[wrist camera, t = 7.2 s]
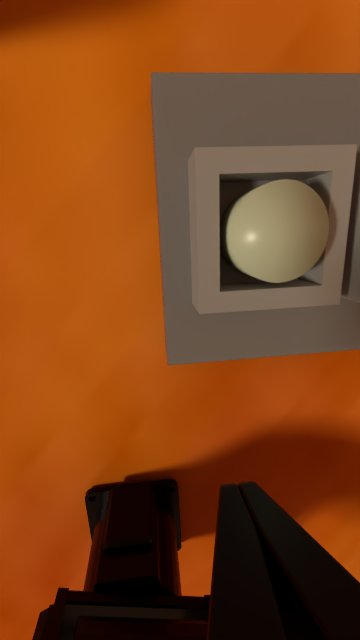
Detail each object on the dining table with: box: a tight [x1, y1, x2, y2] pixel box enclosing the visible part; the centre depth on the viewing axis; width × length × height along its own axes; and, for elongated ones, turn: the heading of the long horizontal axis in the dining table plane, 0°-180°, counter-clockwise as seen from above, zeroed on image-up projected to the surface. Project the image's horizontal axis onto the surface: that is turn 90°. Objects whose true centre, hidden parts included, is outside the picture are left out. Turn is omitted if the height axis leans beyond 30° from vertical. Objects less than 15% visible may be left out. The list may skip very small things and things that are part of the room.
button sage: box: [220, 179, 329, 283], centre depth 14 cm, size 4×4×3 cm
